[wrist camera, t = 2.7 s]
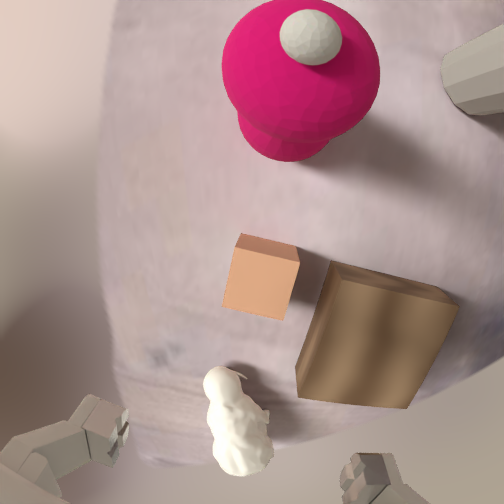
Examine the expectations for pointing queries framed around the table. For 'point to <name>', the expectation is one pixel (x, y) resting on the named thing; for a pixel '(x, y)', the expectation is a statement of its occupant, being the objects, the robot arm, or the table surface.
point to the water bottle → (477, 74)
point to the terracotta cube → (261, 277)
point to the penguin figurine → (236, 424)
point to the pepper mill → (299, 76)
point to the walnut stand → (372, 338)
